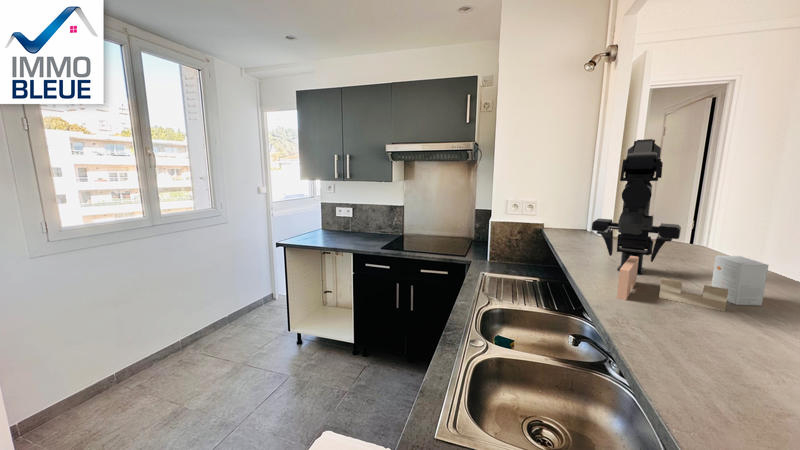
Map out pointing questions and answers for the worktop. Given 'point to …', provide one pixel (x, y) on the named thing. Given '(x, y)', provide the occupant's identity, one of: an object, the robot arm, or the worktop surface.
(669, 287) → the birch notched block
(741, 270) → the small box
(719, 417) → the worktop surface
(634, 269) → the terracotta plate
